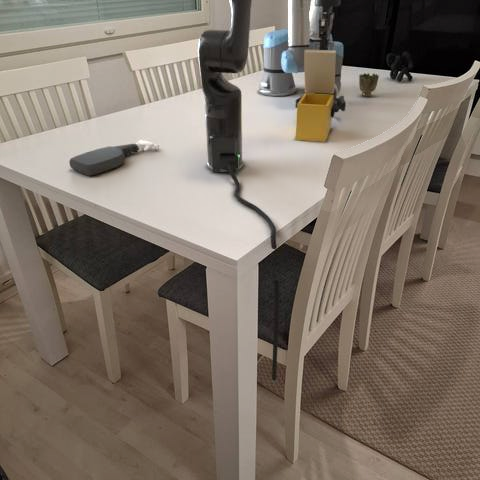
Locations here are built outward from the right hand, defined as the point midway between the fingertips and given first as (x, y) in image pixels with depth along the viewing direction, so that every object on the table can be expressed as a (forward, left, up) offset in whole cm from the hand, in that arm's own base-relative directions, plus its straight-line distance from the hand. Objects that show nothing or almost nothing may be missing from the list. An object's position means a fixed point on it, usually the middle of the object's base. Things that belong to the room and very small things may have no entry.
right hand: (316, 111), depth 140 cm
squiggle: (-61, +57, -6) cm, 83 cm away
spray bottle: (+14, -61, -6) cm, 63 cm away
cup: (-37, +32, -6) cm, 49 cm away
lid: (0, 0, +11) cm, 11 cm away
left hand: (-5, +2, +17) cm, 18 cm away
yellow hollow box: (+3, -1, -6) cm, 7 cm away
